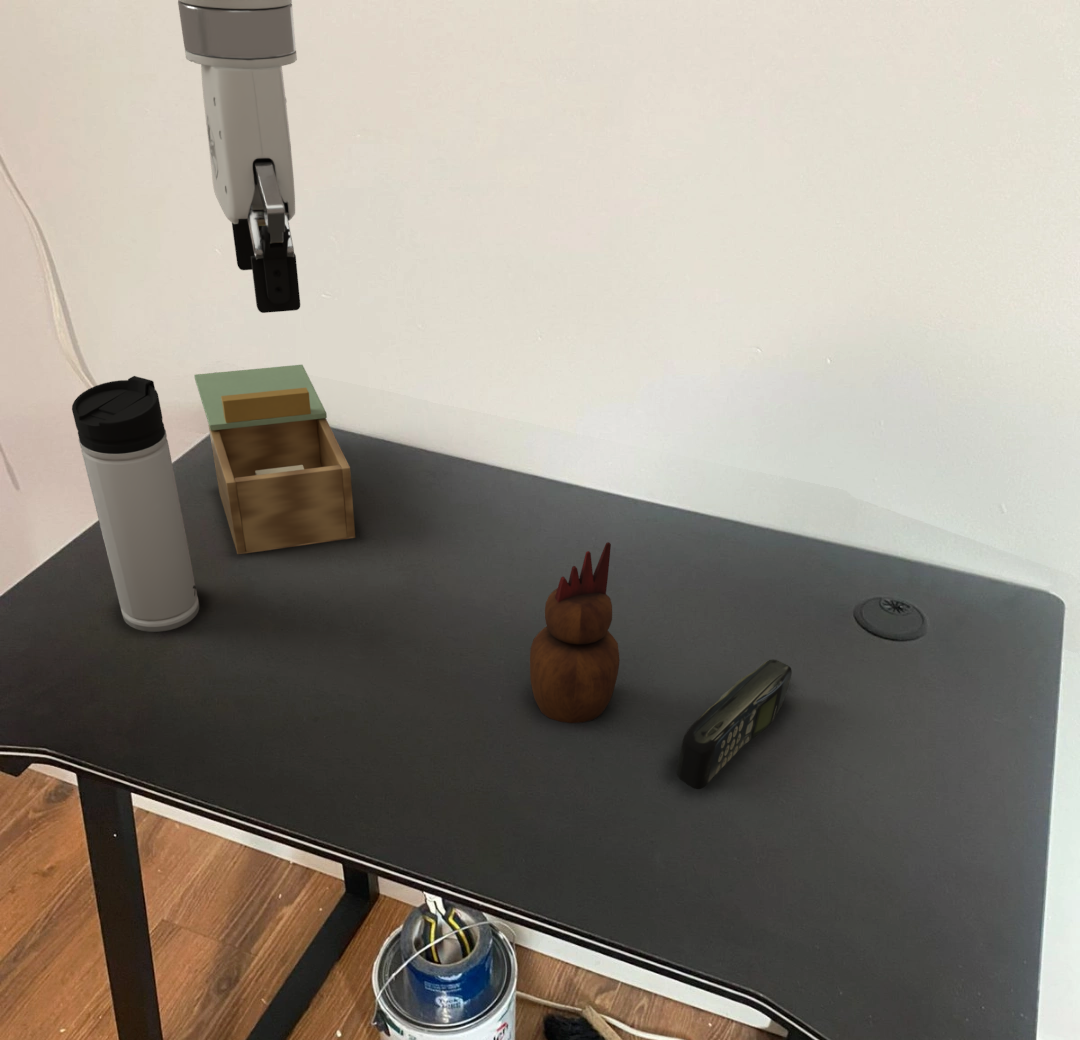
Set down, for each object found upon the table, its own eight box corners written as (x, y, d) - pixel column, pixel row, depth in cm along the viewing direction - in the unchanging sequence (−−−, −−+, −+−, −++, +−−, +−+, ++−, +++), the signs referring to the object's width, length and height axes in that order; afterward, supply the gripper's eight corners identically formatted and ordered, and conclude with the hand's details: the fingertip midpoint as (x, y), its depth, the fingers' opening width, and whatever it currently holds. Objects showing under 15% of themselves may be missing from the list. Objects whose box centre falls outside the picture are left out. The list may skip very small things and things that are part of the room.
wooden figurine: (610, 689, 87) (629, 527, 77) (614, 735, 83) (635, 571, 73) (527, 686, 87) (536, 523, 77) (527, 732, 82) (536, 567, 73)
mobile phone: (711, 753, 74) (810, 651, 84) (675, 734, 76) (776, 636, 85) (702, 802, 78) (797, 699, 87) (667, 783, 79) (764, 684, 88)
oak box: (238, 561, 99) (226, 482, 93) (220, 499, 107) (208, 424, 102) (355, 544, 102) (350, 467, 97) (329, 485, 110) (323, 411, 105)
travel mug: (218, 606, 93) (178, 385, 80) (167, 646, 88) (117, 418, 75) (160, 587, 95) (112, 368, 82) (108, 625, 90) (48, 399, 77)
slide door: (210, 431, 100) (206, 402, 99) (195, 380, 109) (190, 353, 107) (327, 418, 104) (324, 390, 102) (303, 369, 112) (300, 343, 110)
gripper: (169, 13, 78) (205, 256, 89) (198, 58, 66) (236, 332, 77) (272, 14, 81) (295, 251, 92) (319, 57, 68) (338, 324, 80)
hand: (268, 288), depth 84 cm, fingers open, 9 cm apart
